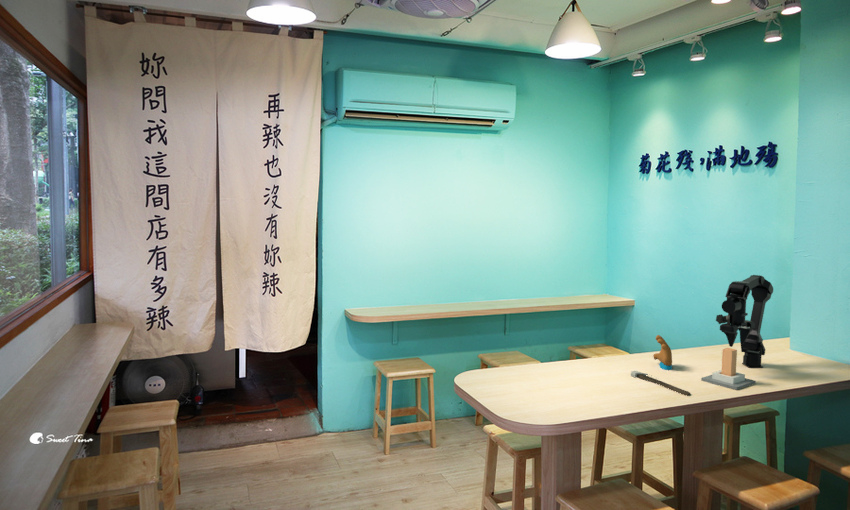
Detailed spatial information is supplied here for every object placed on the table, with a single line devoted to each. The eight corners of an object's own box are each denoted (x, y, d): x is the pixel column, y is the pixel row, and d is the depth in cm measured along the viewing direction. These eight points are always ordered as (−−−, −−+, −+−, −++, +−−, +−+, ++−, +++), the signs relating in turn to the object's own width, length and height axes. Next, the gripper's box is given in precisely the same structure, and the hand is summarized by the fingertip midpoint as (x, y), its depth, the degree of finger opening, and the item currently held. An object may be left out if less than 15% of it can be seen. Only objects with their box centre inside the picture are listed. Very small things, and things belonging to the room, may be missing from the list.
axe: (681, 391, 225) (629, 370, 253) (680, 397, 225) (628, 375, 253) (703, 392, 229) (649, 370, 257) (702, 398, 229) (649, 376, 257)
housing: (720, 374, 253) (720, 366, 253) (755, 383, 241) (755, 375, 241) (701, 380, 245) (701, 372, 245) (736, 390, 233) (736, 381, 232)
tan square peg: (726, 377, 246) (727, 347, 244) (735, 379, 242) (737, 349, 241) (721, 378, 243) (722, 349, 242) (730, 381, 240) (732, 351, 239)
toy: (652, 362, 272) (653, 331, 270) (668, 363, 271) (669, 332, 269) (657, 370, 260) (658, 337, 259) (673, 371, 259) (675, 338, 257)
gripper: (731, 305, 264) (729, 338, 265) (708, 309, 254) (707, 344, 255) (756, 309, 255) (754, 343, 256) (733, 313, 244) (732, 349, 246)
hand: (736, 345), depth 253 cm, fingers open, 9 cm apart
